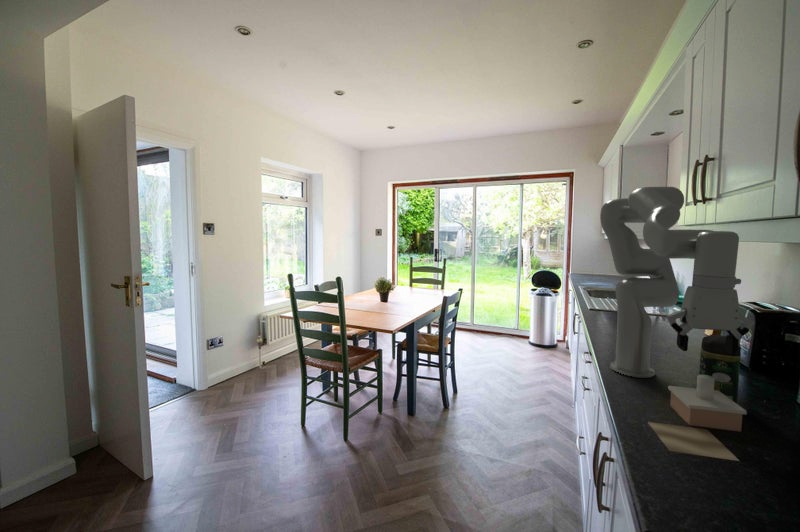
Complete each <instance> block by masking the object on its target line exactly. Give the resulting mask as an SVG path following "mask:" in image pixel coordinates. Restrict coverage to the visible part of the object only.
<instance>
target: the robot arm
mask: <svg viewBox="0 0 800 532" xmlns="http://www.w3.org/2000/svg"><path fill="white" fill-rule="evenodd" d="M684 204H685V195H684V193H683V192H682V190H681V189H679V188H677V187H676V186H644V187H639V188H636V189H635V190H633V191H632V192H631V193H629V195H628V197H627V198H615V199H610V200H608V201H606V202H605V203H603V205H602V207H601V209H600V214H599V215H600V218H599V219H600V225H601V227H602V231H603V232H604V234H605V236H606V237H607V240H608V243H609V246H610V252H611V255H612V260H613V264H614V268H615V270H616V272H617V274H619V276H624V277H628V278H624V279H621V280H620V281H618V282H617V284H616V286H615V298H616V304H617V307H616V308H617V323H616V324H617V326H616V327H617V328H616V342H615V343H616V345H615V360H614V361H612V362H610V364H609V369H611V370H612V371H613V370H614V371H613V372H615V371H616V372H615V373H617V372H619V373H618V374H620V373H621V375H623V374H624V376H626V375H627V377H631V376H632V377H633V378H638V379H639V378H640V379H647V378H653V377H654V376H655V373H656V372H655V369H653V368H652V367H650V360H651V359H650V357H651V343H652V328H653V327H652V325H653V324H652V323H653V322H652V319H651V316H650V315H649V313H648V312H647V311H646V309H645V308H669V307H673V306H675V305H676V304H677V303H678V301H679V299H680V291H679V290H680V289H679V286H678V282H677V278H676V275H675V273H674V269H673V265H672V262H671V259H673V260H675V259H690V260H692V259H693V261H694V262H693V268H692V269H693V272H692V279H691V280H692V281H691V282H692V283H691V285H688V286H687V287H686V290H685V293H684V297H683V300H682V303H681V308H680V310H678V311H677V310H676V311H674V312H672V313H670V314H669V313H668V314H666V316H665V318H666V320H667V321H668V323H669V326H670V327H671V328H672V329H673V330H675V332H676V333H677V334H676V335H677V336H676V346H677V348H679V350H681V351H682V352H687V351H688V349H689V346H688V345H689V338H690V337H689V335H687V334H688V333H690V332H691V331H692V330H693V329H698V330H706V331H707V330H708V331H710V330H711V331H726V332H727V334H728V335H725V336H726V339H725V348H724V350H725V351H726V352H728V353H730V354H731V355H736V351H737V350H738V343H739V342H740V341H739V340H741V339H742V338H743V337H744V336H745V335H746V334H748V333H750V330H751V329H752V328H753V327H754V325H755V324H756V322H755V320H752V319H750V318H748V317H747V316H745V315H742V314H740V301H739V296H738V292H737V291H738V290H737V289H735V287H736V285H741V283H742V280H741V278H737V277H736V271H737V264H738V263H737V261H738V253H739V245H740V244H739V242H740V237H739V235H738V233H737V232H736V231H735V232H734V231H728V230H727V231H726V230H713V229H671V228H673V227H674V226H675V225H676V224H677V223H678V221H679V220H680V217H681V209H682V208H683V206H684ZM629 223H630V224H632V223H633V224H635V223H636V224H639V223H640V224H643V223H644V225H643V227H642V237H643V241H644V243H645V244H646V246H647V247H648V248H643V247H641V245H640V243H639V239H638V236H637V234H636V232H634V231H633V230H632V229H631V228H630V227H629V226H627V225H626V224H629ZM677 319H679V320H680V323H681V324H678V323H677ZM739 321H740V322H742V324H741V326H739ZM632 377H631V378H632Z"/></svg>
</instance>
